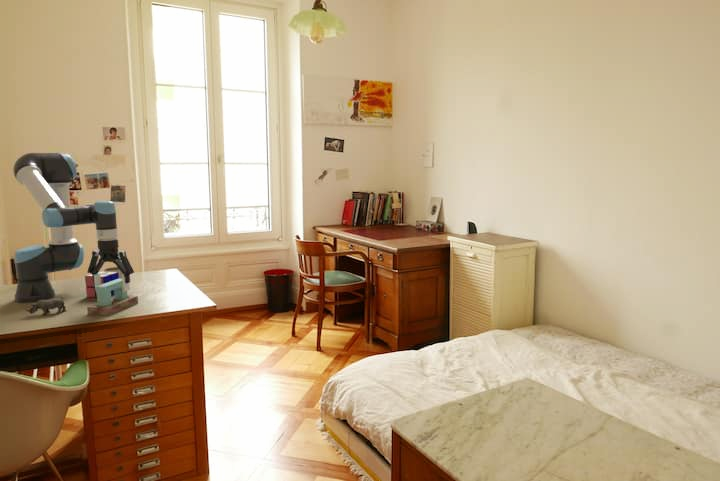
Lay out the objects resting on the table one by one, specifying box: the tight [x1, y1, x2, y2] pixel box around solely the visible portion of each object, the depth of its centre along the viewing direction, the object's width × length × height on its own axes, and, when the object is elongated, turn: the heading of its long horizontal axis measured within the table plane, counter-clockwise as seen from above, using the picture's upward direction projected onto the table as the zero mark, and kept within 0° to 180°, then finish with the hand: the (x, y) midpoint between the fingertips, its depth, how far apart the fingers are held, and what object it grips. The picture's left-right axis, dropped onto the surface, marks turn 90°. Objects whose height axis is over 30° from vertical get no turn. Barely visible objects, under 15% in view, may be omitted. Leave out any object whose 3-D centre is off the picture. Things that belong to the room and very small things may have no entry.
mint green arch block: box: [95, 279, 129, 307], centre depth 202 cm, size 4×14×11 cm, turn 169°
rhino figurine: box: [25, 297, 67, 316], centre depth 196 cm, size 4×14×6 cm, turn 115°
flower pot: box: [102, 266, 123, 279], centre depth 240 cm, size 9×9×9 cm
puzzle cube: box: [84, 270, 119, 299], centre depth 223 cm, size 10×10×10 cm
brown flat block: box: [86, 295, 139, 316], centre depth 202 cm, size 10×18×3 cm, turn 169°
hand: (112, 290), depth 201 cm, fingers open, 12 cm apart
